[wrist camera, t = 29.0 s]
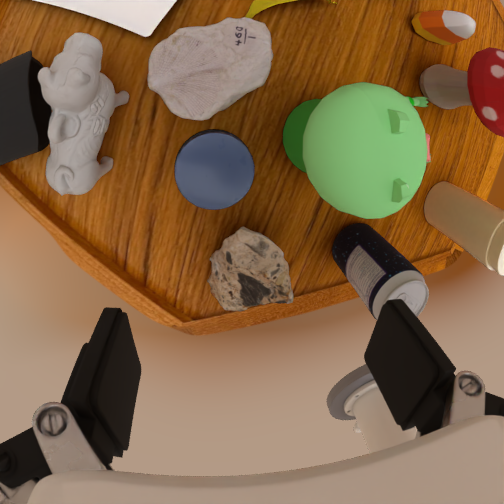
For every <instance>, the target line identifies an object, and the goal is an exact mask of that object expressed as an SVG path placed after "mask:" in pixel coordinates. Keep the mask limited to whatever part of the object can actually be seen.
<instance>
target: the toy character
mask: <svg viewBox="0 0 504 504" xmlns="http://www.w3.org/2000/svg"><path fill="white" fill-rule="evenodd" d="M426 99H428V98H426V97H414V98H411V97H408V96H407V97H405V96H403V95H402V94H400V93H399V92H397V91H396V90H394V89H392V88H390V87H387V86H382V85H377V84H372V83H366V82H360V83H355V84H350V85H345V86H341V87H339V88H338V89H336V90H335V91H333V92H331V93H330V94H328V95H327V96H325V97H324V98H323V99H313V100H309V101H305V102H303V103H302V104H300V105H299V106H297V107H296V108H294V110H293V111H292V112H291V114H290V115H289V116H288V118H287V120H286V123H285V126H284V129H283V145H284V148H285V151H286V154H287V156H288V157H289V159H290V160H291V162H292V163H293V164H294V165H295V166H296V167H297V168H299V169H300V170H301V171H303V172H305V173H307V175H308V178H309V180H310V182H311V183H312V185H313V186H314V187H315V189H316V190H317V192H318V193H319V195H320V196H321V197H322V198H323V199H324V200H325V201H327V202H328V203H329V204H331V205H332V206H333V207H335V208H336V209H337V210H339V211H342V212H345V213H348V214H352V215H355V216H358V217H361V218H365V219H374V218H384V217H386V216H388V215H391V214H393V213H395V212H397V211H399V210H400V209H401V208H402V207H403V206H404V205H405V204H407V203H408V202H409V201H410V200H411V199H412V197H413V196H414V194H415V192H416V191H417V189H418V188H419V186H420V184H421V181H422V178H423V175H424V172H425V169H426V163H428V162H431V161H430V159H431V157H430V155H431V154H430V152H429V141H430V135H429V134H425V129H424V127H423V124H422V122H421V119H420V117H419V114H418V112H417V111H416V109H415V108H414V107H413V106H419V107H427V106H428V105H426V104H427V103H429V102H428V101H427V100H426Z"/></svg>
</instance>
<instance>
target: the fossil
mask: <svg viewBox="0 0 504 504" xmlns="http://www.w3.org/2000/svg"><path fill="white" fill-rule="evenodd" d="M271 43H272V40H271V35H270V32H269V30H268V29H267V27H266V25H265V23H261V22H259V21H255V20H252V19H250V18H246V17H243V18H240V19H234V18H226V19H224V20H223V21H221V22H220V23H217V24H213V25H209V26H206V27H201V26H196V27H186V28H180V29H178V30H177V31H176V32H175V33H173V34H172V35H171V36H169V37H168V38H167V39H165V40H162V41H161V42H160V43H159V44H157V45H156V46H155V47H154V49H153V51H152V53H151V55H150V58H149V74H148V78H147V79H148V86H149V88H150V89H151V90H153V91H155V92H157V93H158V94H159V95H160V96H161V97H162V99H163V101H164V103H165V104H166V105H167V107H168V108H169V110H170V111H171V112H172V113H174V114H176V115H177V116H179V117H181V118H184V119H192V120H202V121H203V120H207V119H209V118H211V117H212V116H213V115H214V114H215V113H217V112H218V111H223V110H225V109H226V108H228V107H229V106H230V105H232V104H233V103H234V102H236V101H237V100H238V99H240V98H241V97H243V96H244V95H245V94H246V93H248V92H251V91H253V90H254V89H256V88H258V87H261V86H263V85H264V83H265V81H266V79H267V77H268V75H269V72H270V68H271V60H272V59H273V53H272V50H271Z"/></svg>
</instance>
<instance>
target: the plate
mask: <svg viewBox="0 0 504 504" xmlns="http://www.w3.org/2000/svg"><path fill="white" fill-rule="evenodd" d="M34 1H39V2H43V3H47V4H51V5H55V6H59V7H63V8H66V9H70V10H73V11H76V12H80V13H83V14H86V15H89V16H92V17H95V18H98V19H101V20H103V21H106V22H109V23H112V24H114V25H117V26H120V27H122V28H125V29H127V30H130V31H132V32H135V33H137V34H139V35H142V36H144V37H147V36H150V35H151V34H152V32H153V31H154V29H155V28H156V27H157V25H158V24H159V23H160V21H161V20H162V19H163V17H164V16H165V15H166V13H167V12H168V11H169V10H170V8H171V7H172V6H173V5H174V3H175V2H176V1H177V0H34Z"/></svg>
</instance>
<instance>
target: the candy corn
mask: <svg viewBox="0 0 504 504" xmlns="http://www.w3.org/2000/svg"><path fill="white" fill-rule="evenodd" d="M411 22H412V25H413V27H414V30H415V32H416V33H417V34H419V35H420V36H422V37H423V38H425V39H426V40H428V41H432V42H435V43H438V44H441V45H450V44H454V43H457V42H460V41H462V40H465V39H467V38H469V37H470V36H471V35H472V34H473V33H474V32H475V26H476V24H475V21H474V20H473V19H472V18H471V17H470V16H468V15H466V14H464V13H460V12H455V11H428V12H421V13H416V14H415V15H414V17H413V19H412V21H411Z"/></svg>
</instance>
